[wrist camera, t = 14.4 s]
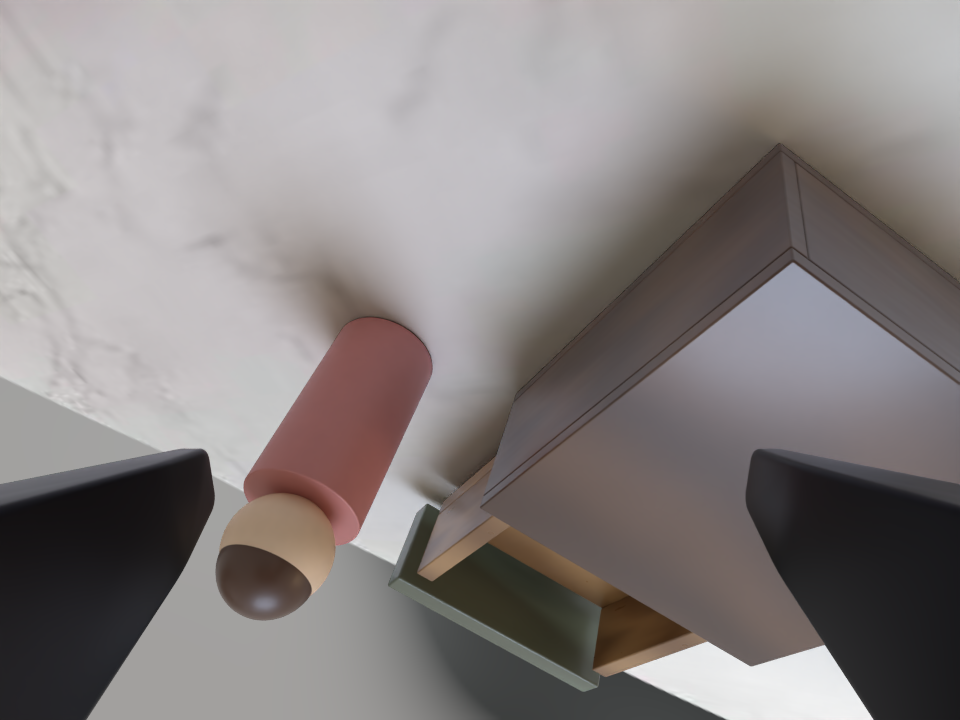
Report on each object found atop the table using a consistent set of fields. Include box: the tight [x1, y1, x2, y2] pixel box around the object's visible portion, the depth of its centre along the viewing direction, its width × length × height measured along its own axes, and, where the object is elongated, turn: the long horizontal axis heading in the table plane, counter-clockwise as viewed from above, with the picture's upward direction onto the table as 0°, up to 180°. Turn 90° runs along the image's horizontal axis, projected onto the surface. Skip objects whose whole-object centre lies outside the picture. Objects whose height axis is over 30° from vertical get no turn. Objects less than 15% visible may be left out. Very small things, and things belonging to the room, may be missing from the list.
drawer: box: [388, 456, 707, 692], centre depth 29 cm, size 13×11×4 cm
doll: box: [216, 317, 432, 620], centre depth 23 cm, size 4×4×11 cm
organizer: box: [480, 144, 960, 666], centre depth 21 cm, size 13×12×6 cm
